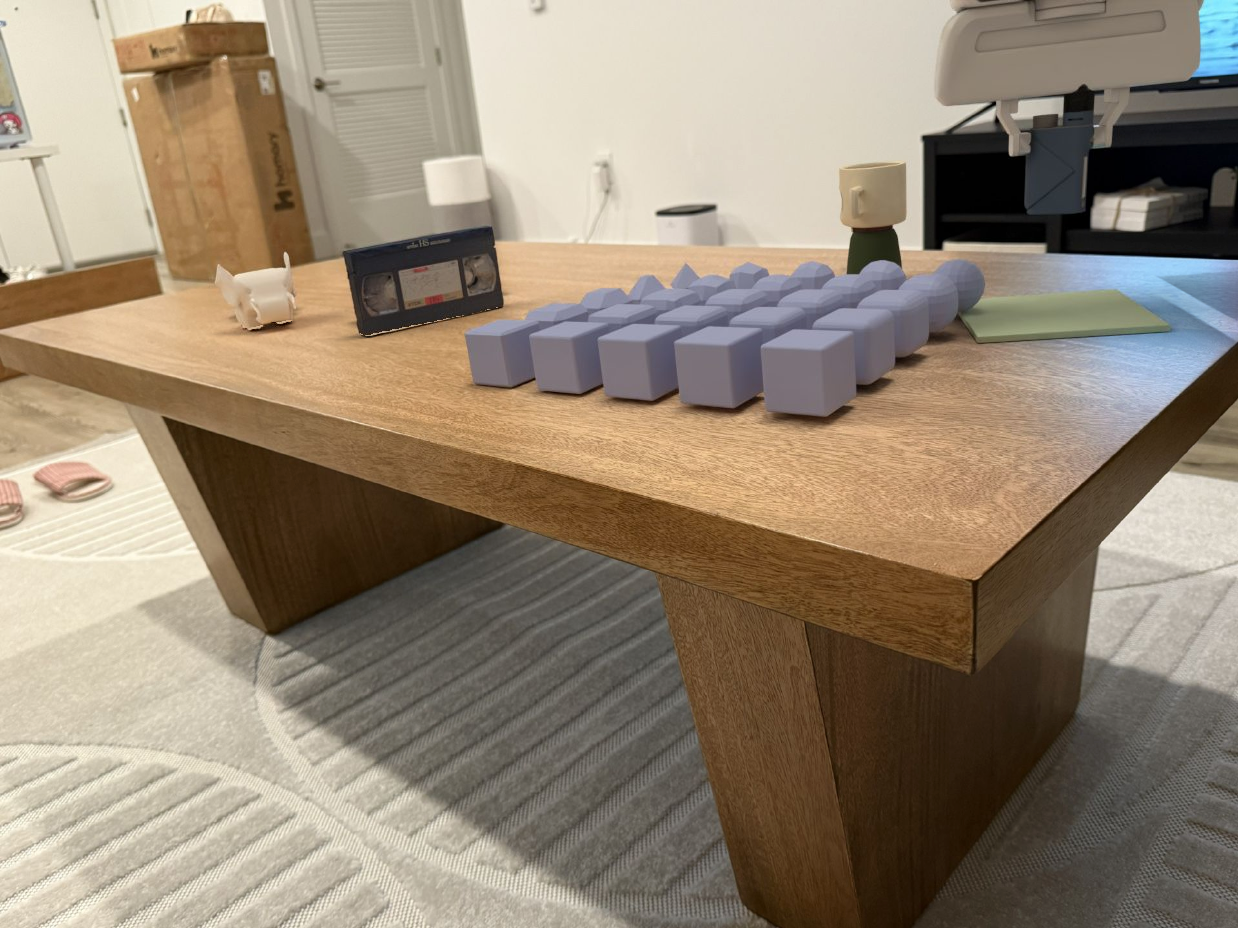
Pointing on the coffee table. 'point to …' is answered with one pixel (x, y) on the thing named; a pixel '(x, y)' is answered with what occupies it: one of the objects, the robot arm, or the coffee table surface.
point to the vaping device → (1060, 157)
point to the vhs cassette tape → (424, 279)
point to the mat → (1059, 316)
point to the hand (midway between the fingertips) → (1058, 151)
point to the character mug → (873, 211)
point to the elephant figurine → (259, 294)
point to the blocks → (730, 335)
